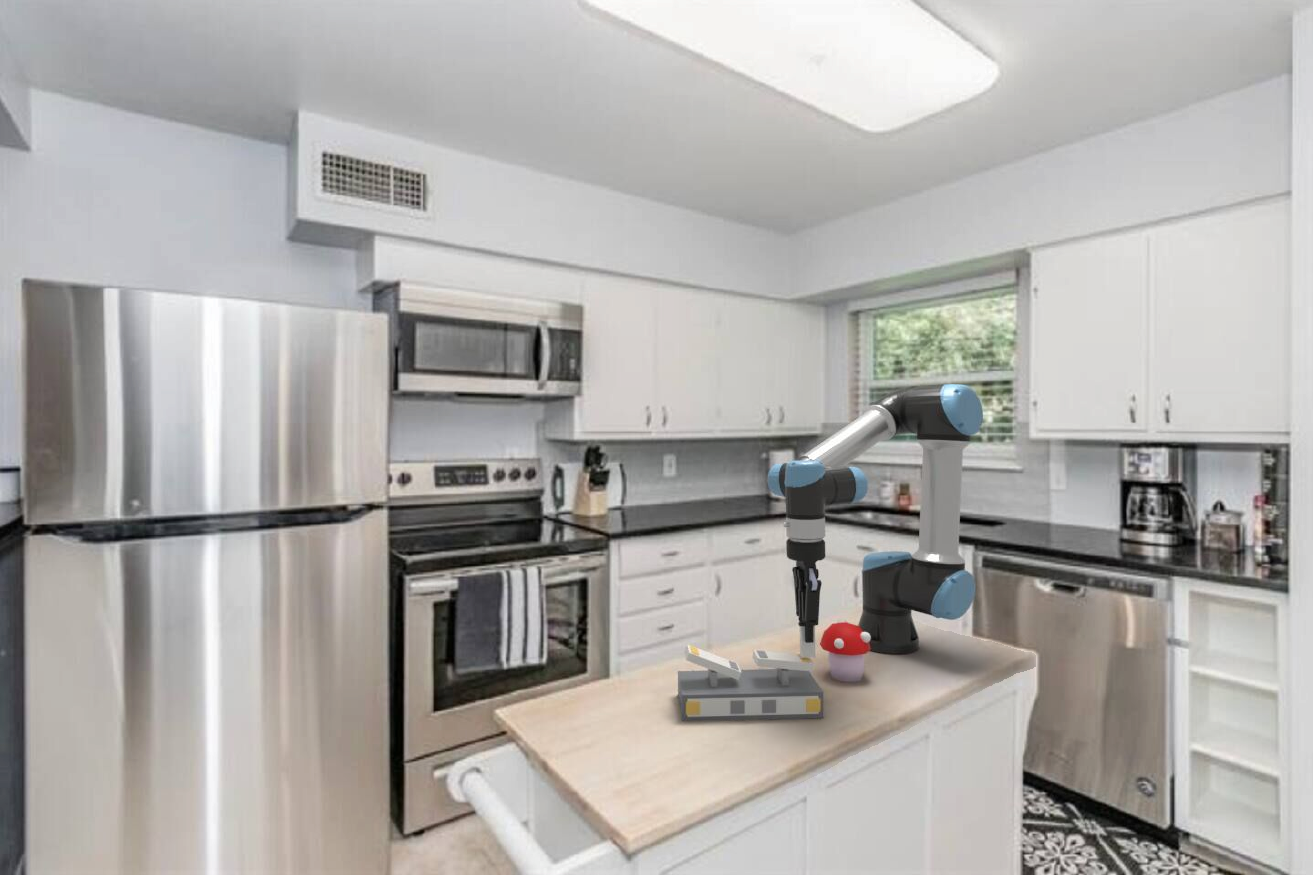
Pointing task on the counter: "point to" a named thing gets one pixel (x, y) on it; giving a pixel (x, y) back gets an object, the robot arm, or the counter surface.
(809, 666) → the rocker
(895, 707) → the counter surface
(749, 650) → the counter surface
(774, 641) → the counter surface
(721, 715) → the switch unit
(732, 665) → the rocker
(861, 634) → the mushroom
